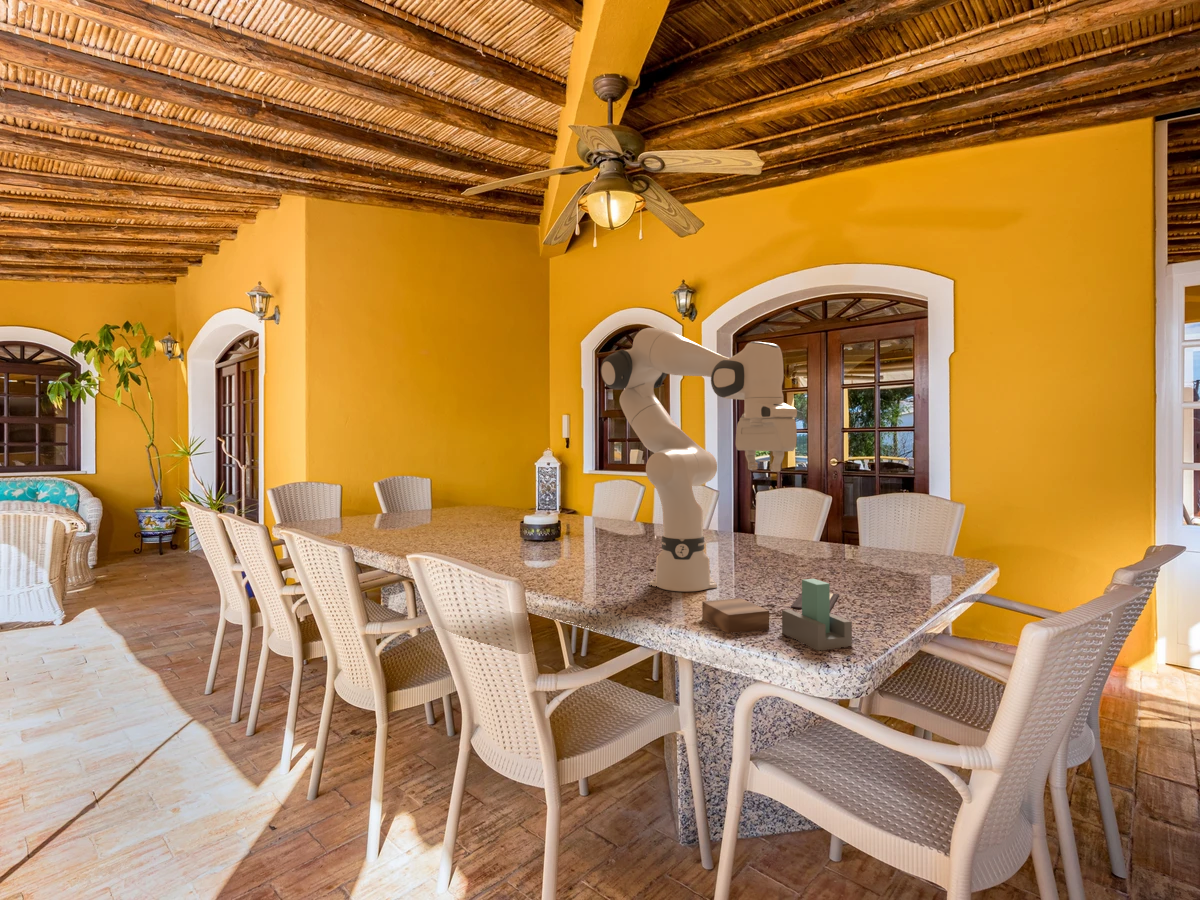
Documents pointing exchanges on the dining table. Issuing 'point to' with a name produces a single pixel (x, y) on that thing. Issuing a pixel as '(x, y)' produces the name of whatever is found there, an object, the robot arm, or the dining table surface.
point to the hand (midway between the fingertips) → (763, 470)
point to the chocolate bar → (798, 602)
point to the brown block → (735, 615)
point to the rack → (817, 630)
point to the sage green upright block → (816, 601)
